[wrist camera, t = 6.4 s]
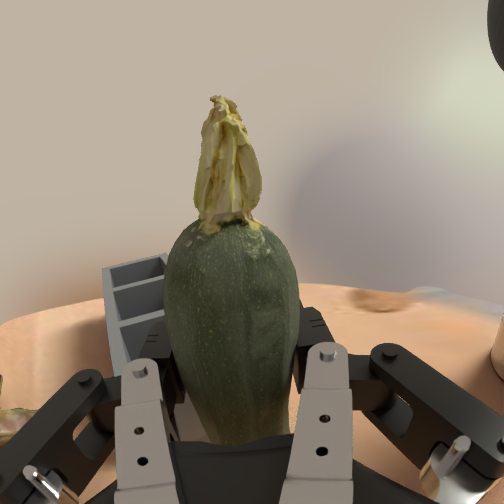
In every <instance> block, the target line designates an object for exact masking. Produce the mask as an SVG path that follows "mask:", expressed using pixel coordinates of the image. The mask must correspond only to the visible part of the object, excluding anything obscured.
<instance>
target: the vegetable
mask: <svg viewBox="0 0 504 504" xmlns="http://www.w3.org/2000/svg"><path fill="white" fill-rule="evenodd" d="M210 101H212V102H214V108H213V109H211V110H210V113H209V116H208V119H207V120H206V121H205V122H204V123H203V127H202V131H201V134H202V139H203V141H202V143H201V147H202V148H201V157H200V161H199V167H198V173H197V178H196V183H195V191H194V204H195V207H196V208H197V209H198V211H199V213H200V214H199V216H198V217H199V219H198V220H197V221H195V222H194V223H192V224H191V225H189V226H188V227H187V228H186V229H184V230H183V232H182V233H181V235H180V236H179V237H178V239H177V240H176V242H175V243H174V245H173V248H172V250H171V252H170V254H169V256H168V260H167V264H166V269H165V274H164V289H163V303H164V314H165V320H166V326H167V330H168V334H169V339H170V343H171V347H172V351H173V355H174V358H175V362H176V365H177V368H178V371H179V374H180V377H181V380H182V383H183V385H184V387H185V389H186V391H187V393H188V395H189V398H190V400H191V402H192V404H193V406H194V408H195V410H196V412H197V414H198V416H199V419H200V421H201V423H202V426H203V428H204V430H205V432H206V434H207V436H208V438H209V440H210V442H211V443H213V444H219V445H226V446H238V445H242V444H245V443H249V442H252V441H255V440H259V439H262V438H265V437H270V436H278V435H286V434H290V429H289V412H288V402H289V394H290V388H291V381H292V373H293V366H294V359H295V352H296V345H297V340H298V334H299V319H300V302H299V288H298V281H297V276H296V270H295V268H294V265H293V263H292V261H291V258H290V256H289V253H288V251H287V249H286V247H285V246H284V245H283V243H282V242H281V240H280V239H279V238H278V237H277V236H276V235H275V234H274V233H273V232H272V231H270V230H269V228H268V227H267V226H265V225H264V224H262V223H261V222H259V221H258V220H256V219H255V218H254V217H252V215H251V210H253V209H254V208H255V207H256V206H257V203H258V202H259V199H260V194H261V190H262V179H261V174H260V171H259V165H258V162H257V158H256V156H255V152H254V150H253V148H252V145H251V143H250V140H249V138H248V135H247V131H246V128H245V126H244V125H243V124H242V122H241V121H242V119H241V117H240V115H239V112H238V111H237V110H236V108H237V106H236V104H235V103H234V102H233V101H231V100H229V99H228V98H225V97H222V96H213V97H211V98H210Z"/></svg>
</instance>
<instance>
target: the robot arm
mask: <svg viewBox="0 0 504 504" xmlns="http://www.w3.org/2000/svg"><path fill="white" fill-rule="evenodd" d="M487 25H488V37H489V42H490V46H491V50H492V53H493V55H494V57H495V60H496V61H497V63H498V65H499V66H500V68H501V69H502V70H503V71H504V0H489V2H488V12H487ZM299 302H300V319H299V334H298V340H297V345H296V352H295V359H294V366H293V375H294V379H295V383H296V387H297V391H298V394H301V396H300V403H299V409H298V415H297V421H296V427H295V433H293V434H286V435H278V436H270V437H265V438H262V439H259V440H255V441H252V442H249V443H245V444H242V445H238V446H226V445H219V444H213V443H207V442H202V441H182V440H181V436H180V431H179V427H178V423H177V419H176V415H175V412H174V408H175V404H184V401H185V394H186V389H185V387H184V385H183V383H182V380H181V377H180V374H179V371H178V368H177V365H176V362H175V358H174V355H173V351H172V347H171V343H170V339H169V334H168V330H167V326H166V320H165V318H164V321H161V322H157V323H155V324H154V325H153V326H152V327H151V328H150V330H149V333H148V335H147V336H148V337H146V340H145V342H144V345H143V347H142V349H141V352H140V354H139V357H138V359H136V360H133V361H131V362H129V363H128V364H126V365H125V366H124V368H123V369H122V375H120V376H116V377H111V378H106V379H103V377H102V375H101V373H100V372H99V371H97V370H94V369H86V370H82V371H80V372H78V373H76V374H75V375H74V376H73V377H72V378H70V379H69V380H68V381H67V382H66V383H65V384H64V385H63V386H62V387H61V388H60V389H59V390H58V391H57V392H56V393H55V394H54V395H53V396H52V397H51V398H50V399H49V400H48V401H47V402H46V403H45V404H44V405H43V406H42V407H41V408H40V409H39V410H38V411H37V412H36V413H35V414H34V415H33V416H32V417H31V418H30V419H29V420H28V421H27V422H26V423H25V424H24V426H23V427H22V428H21V429H20V430H19V431H18V432H17V433H16V434H15V435H14V436H13V437H12V438H11V439H10V440H9V441H8V442H7V443H6V444H5V445H4V446H3V447H2V448H1V450H0V504H79V499H78V497H79V496H80V495H81V493H82V492H83V490H84V489H85V488H86V486H87V485H88V484H89V482H90V481H91V479H92V478H93V477H94V475H95V474H96V472H97V471H98V470H99V468H100V467H101V466H102V464H103V463H104V461H105V460H106V459H107V457H108V456H109V454H110V453H111V452H112V450H113V449H114V448H115V452H116V471H117V479H116V480H115V481H114V482H113V483H111V484H110V485H109V486H107V487H106V488H105V489H103V490H102V491H101V492H99V493H98V494H97V495H95V496H94V497H93V498H91V499H90V500H89V501H87V502H86V503H84V504H476V503H478V502H479V501H480V500H481V499H482V498H483V497H484V496H485V495H486V494H487V493H488V492H489V491H490V490H491V489H492V488H493V487H494V486H495V485H496V484H497V483H498V482H499V481H500V480H501V479H502V478H503V477H504V418H503V417H501V416H500V415H499V414H497V413H496V412H494V411H493V410H492V409H490V408H489V407H487V406H486V405H485V404H483V403H482V402H480V401H479V400H478V399H476V398H475V397H473V396H472V395H470V394H469V393H468V392H466V391H465V390H463V389H462V388H461V387H459V386H458V385H456V384H455V383H453V382H452V381H451V380H449V379H448V378H446V377H445V376H443V375H442V374H441V373H439V372H438V371H436V370H435V369H434V368H432V367H431V366H429V365H428V364H426V363H425V362H424V361H422V360H421V359H419V358H418V357H416V356H415V355H413V354H412V353H411V352H409V351H408V350H406V349H405V348H403V347H402V346H400V345H397V344H393V343H383V344H379V345H377V346H375V347H374V348H373V349H372V351H371V354H370V355H353V354H349V353H347V350H346V348H345V347H344V346H342V345H340V344H338V343H335V341H334V339H333V337H332V335H331V333H330V331H329V329H328V327H327V325H326V323H325V321H324V320H323V317H322V315H321V313H320V312H319V311H318V310H316V309H315V308H313V307H307V308H304V307H303V305H302V303H301V301H300V298H299ZM491 361H492V365H493V367H494V369H495V371H496V372H497V373H498V375H499V376H500V377H501V378H502V379H503V380H504V314H503V317H502V321H501V324H500V327H499V330H498V333H497V336H496V339H495V342H494V345H493V348H492V351H491ZM398 395H399V396H400V397H401V398H402V399H403V400H404V401H403V400H402V399H401V398H400V397H399V396H398ZM405 401H406V402H407V403H408V404H409V405H410V406H409V405H408V404H407V403H406V402H405ZM352 410H361V411H362V413H363V414H364V415H365V416H366V417H367V418H368V419H369V420H370V421H371V422H372V423H373V424H374V425H375V426H376V427H377V428H378V429H379V430H380V431H381V432H382V433H383V434H384V435H385V436H386V437H387V438H388V439H389V440H390V441H391V442H392V443H393V444H394V445H395V446H396V447H397V448H398V449H399V450H400V451H401V452H402V453H403V454H404V455H405V456H406V457H407V458H408V459H409V460H410V461H411V462H412V463H413V464H414V465H415V466H416V467H418V468H419V469H420V470H421V472H420V475H419V481H420V484H421V486H422V488H423V491H424V492H425V493H426V495H427V497H425V496H423V495H421V494H419V493H416V492H414V491H412V490H410V489H408V488H406V487H404V486H402V485H400V484H398V483H396V482H394V481H392V480H390V479H388V478H386V477H384V476H383V475H381V474H379V473H377V472H375V471H373V470H372V469H370V468H368V467H366V466H364V465H363V464H361V463H359V462H357V461H356V460H354V459H352V455H353V416H352ZM85 416H87V417H88V419H89V421H90V422H89V424H88V425H87V426H86V427H85V428H84V430H83V431H82V432H81V433H80V434H79V436H78V437H77V438H76V439H75V440H73V431H74V429H75V428H76V427H77V426H78V424H79V423H80V422H81V421H82V420H83V419H84V417H85Z"/></svg>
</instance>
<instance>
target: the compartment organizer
mask: <svg viewBox="0 0 504 504" xmlns="http://www.w3.org/2000/svg"><path fill="white" fill-rule="evenodd" d="M167 260H168V255H167V254H166V253H163V254H159V255H155V256H151V257H147V258H143V259H139V260H135V261H131V262H127V263H122V264H119V265H115V266H111V267H106V268H103V269H102V279H103V293H104V305H105V315H106V324H107V332H108V340H109V347H110V354H111V360H112V366H113V372H114V377H116V376H120V375H122V369H123V368H124V366H125V365H126V364H128V363H129V362H131V361H133V360H136V359H138V357H139V354H140V352H141V349H142V347H143V345H144V342H145V340H146V337H148V336H147V335H148V333H149V330H150V328H151V327H152V326H153V325H154V324H155V323H157V322H161V321H164V318H165V314H164V303H163V289H164V274H165V269H166V264H167ZM174 412H175V415H176V419H177V423H178V427H179V431H180V436H181V440H182V441H202V442H207V443H211V442H210V440H209V438H208V436H207V434H206V432H205V430H204V428H203V426H202V423H201V421H200V419H199V416H198V414H197V412H196V410H195V408H194V406H193V404H192V402H191V400H190V398H189V395H188V393H187V391H186V394H185V401H184V404H175V408H174Z"/></svg>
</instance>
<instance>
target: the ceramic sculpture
mask: <svg viewBox="0 0 504 504" xmlns="http://www.w3.org/2000/svg"><path fill="white" fill-rule="evenodd" d="M2 381H3V377H2V375H1V374H0V394H1V387H2ZM38 410H39V409H38ZM38 410H28V409H22V408H15V409H11V410H5V411H4V410H1V408H0V450H1V448H2V447H3V446H4V445H5V444H6V443H7V442H8V441H9V440H10V439H11V438H12V437H13V436H14V435H15V434H16V433H17V432H18V431H19V430H20V429H21V428H22V427H23V426H24V424H25V423H26V422H27V421H28V420H29V419H30V418H31V417H32V416H33V415H34V414H35V413H36V412H37V411H38Z"/></svg>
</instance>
